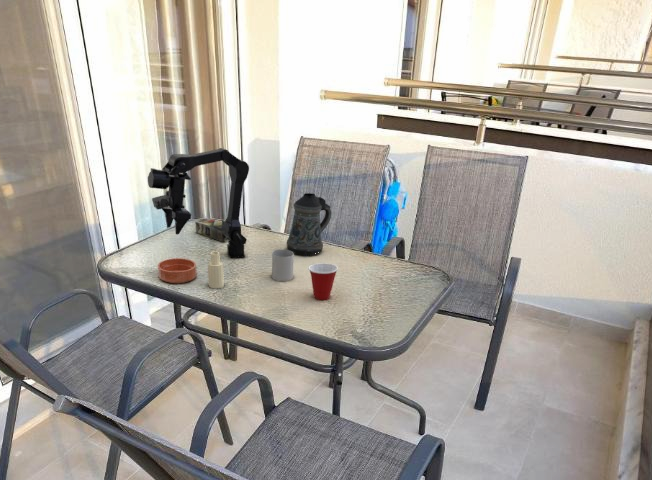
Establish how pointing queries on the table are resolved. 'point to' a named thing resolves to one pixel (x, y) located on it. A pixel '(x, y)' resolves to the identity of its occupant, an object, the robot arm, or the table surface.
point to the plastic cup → (322, 279)
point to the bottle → (215, 271)
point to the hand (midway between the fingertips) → (172, 230)
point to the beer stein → (308, 225)
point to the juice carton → (210, 228)
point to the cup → (282, 265)
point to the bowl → (177, 270)
